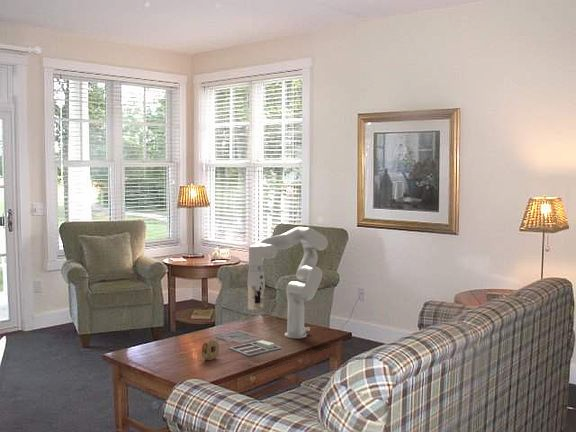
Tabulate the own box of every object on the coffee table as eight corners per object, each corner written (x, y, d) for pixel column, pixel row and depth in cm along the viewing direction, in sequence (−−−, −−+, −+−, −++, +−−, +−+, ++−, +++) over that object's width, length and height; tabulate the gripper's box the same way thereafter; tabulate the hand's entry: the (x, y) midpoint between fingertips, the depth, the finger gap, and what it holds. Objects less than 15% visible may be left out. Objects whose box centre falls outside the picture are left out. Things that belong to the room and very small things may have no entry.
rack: (261, 343, 343) (261, 340, 342) (281, 351, 330) (281, 347, 330) (228, 351, 328) (228, 347, 328) (248, 359, 316) (248, 355, 315)
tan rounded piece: (206, 362, 309) (206, 342, 308) (200, 361, 311) (200, 341, 310) (220, 357, 317) (220, 338, 317) (215, 356, 320) (215, 336, 319)
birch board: (259, 306, 340) (259, 284, 339) (263, 307, 337) (263, 285, 336) (247, 308, 334) (248, 286, 333) (251, 309, 332) (251, 287, 331)
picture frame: (215, 338, 354) (240, 346, 339) (215, 334, 354) (240, 342, 338) (238, 333, 366) (263, 341, 350) (238, 329, 365) (263, 336, 350)
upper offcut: (262, 343, 338) (262, 340, 338) (274, 347, 332) (274, 343, 332) (256, 345, 335) (256, 341, 334) (268, 348, 329) (268, 345, 329)
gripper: (270, 269, 330) (270, 304, 332) (252, 265, 343) (251, 298, 344) (259, 271, 325) (259, 306, 327) (240, 267, 338) (240, 300, 339)
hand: (255, 302), depth 336 cm, fingers closed on birch board, 3 cm apart
